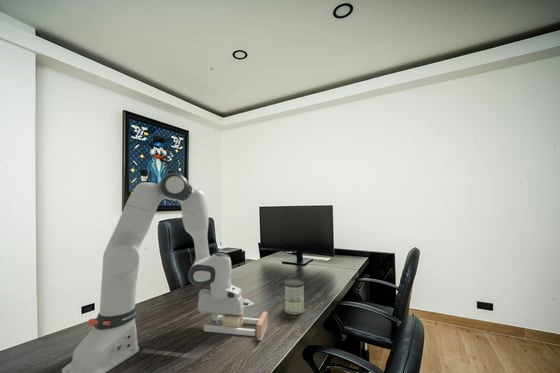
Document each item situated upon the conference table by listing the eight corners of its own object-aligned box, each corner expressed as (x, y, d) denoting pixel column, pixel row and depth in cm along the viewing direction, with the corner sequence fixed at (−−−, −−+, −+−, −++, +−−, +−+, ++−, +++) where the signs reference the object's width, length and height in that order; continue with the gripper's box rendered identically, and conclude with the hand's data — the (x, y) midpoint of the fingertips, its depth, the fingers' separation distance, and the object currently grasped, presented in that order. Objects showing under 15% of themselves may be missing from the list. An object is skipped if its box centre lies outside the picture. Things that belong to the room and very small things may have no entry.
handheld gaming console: (255, 303, 128) (229, 310, 119) (255, 306, 127) (229, 313, 119) (246, 297, 136) (221, 303, 127) (246, 300, 135) (221, 306, 127)
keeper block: (238, 332, 99) (238, 319, 99) (222, 330, 100) (222, 318, 100) (243, 323, 105) (243, 312, 106) (228, 322, 107) (228, 310, 107)
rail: (261, 340, 94) (261, 324, 95) (200, 334, 98) (201, 319, 99) (267, 325, 106) (267, 311, 107) (213, 320, 110) (213, 307, 111)
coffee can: (280, 307, 125) (281, 280, 126) (298, 304, 129) (298, 278, 130) (288, 315, 116) (288, 286, 117) (307, 312, 119) (307, 283, 120)
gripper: (195, 291, 103) (194, 324, 102) (240, 294, 100) (239, 328, 99) (202, 286, 110) (201, 317, 108) (244, 289, 106) (244, 321, 105)
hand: (220, 323), depth 104 cm, fingers closed
